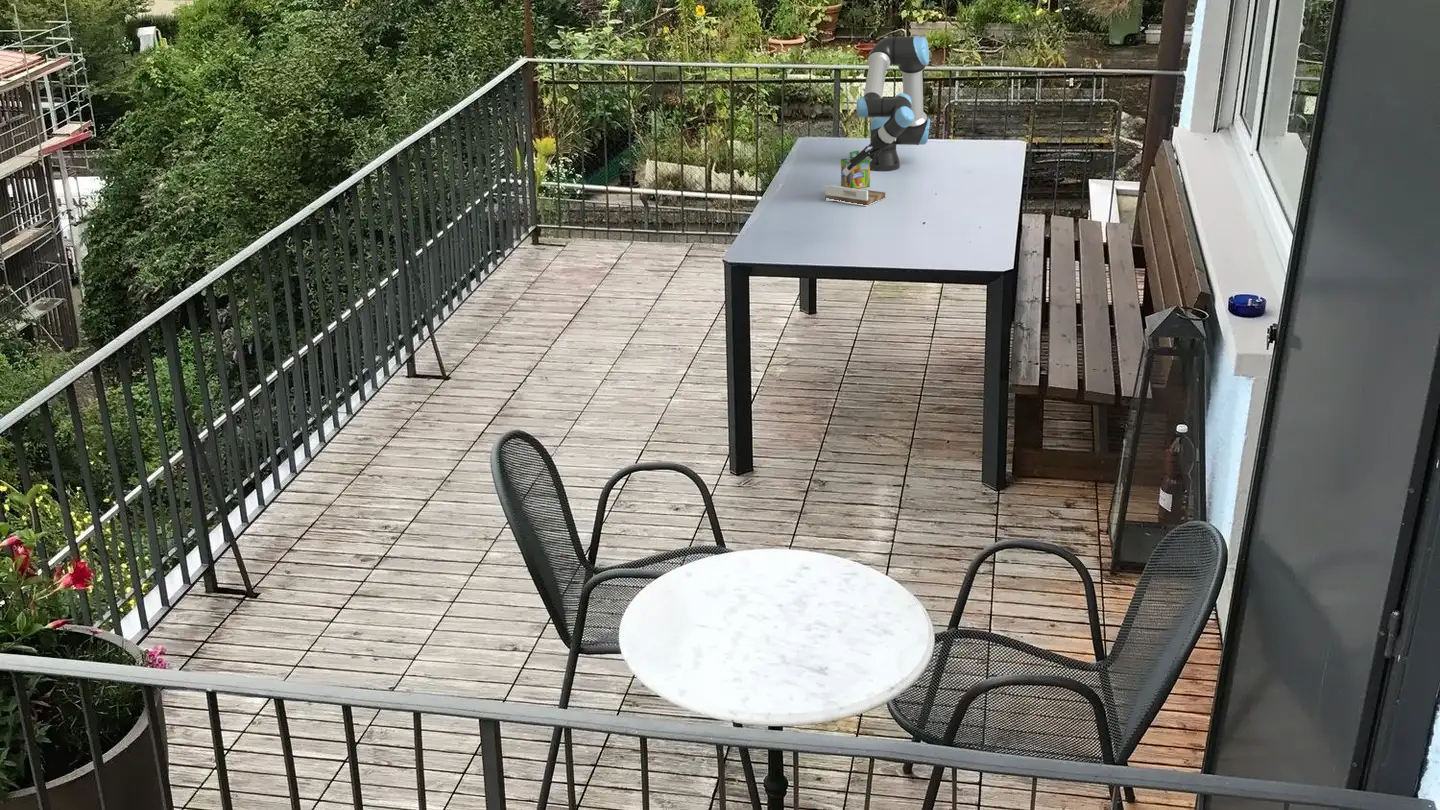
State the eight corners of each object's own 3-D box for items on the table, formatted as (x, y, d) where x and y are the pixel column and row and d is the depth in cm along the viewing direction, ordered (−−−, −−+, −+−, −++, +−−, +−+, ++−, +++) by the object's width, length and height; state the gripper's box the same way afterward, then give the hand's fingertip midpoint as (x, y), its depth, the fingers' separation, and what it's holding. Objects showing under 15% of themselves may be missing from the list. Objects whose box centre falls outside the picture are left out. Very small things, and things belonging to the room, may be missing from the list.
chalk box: (852, 190, 560) (852, 155, 554) (840, 186, 568) (839, 151, 562) (870, 187, 564) (870, 152, 558) (858, 182, 571) (858, 148, 566)
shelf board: (844, 192, 577) (844, 177, 574) (885, 198, 566) (885, 183, 563) (825, 200, 566) (825, 185, 563) (866, 206, 554) (866, 191, 552)
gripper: (875, 150, 540) (842, 183, 555) (905, 138, 557) (872, 171, 572) (863, 135, 541) (831, 169, 556) (893, 124, 558) (862, 157, 573)
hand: (852, 170), depth 564 cm, fingers closed on chalk box, 11 cm apart
